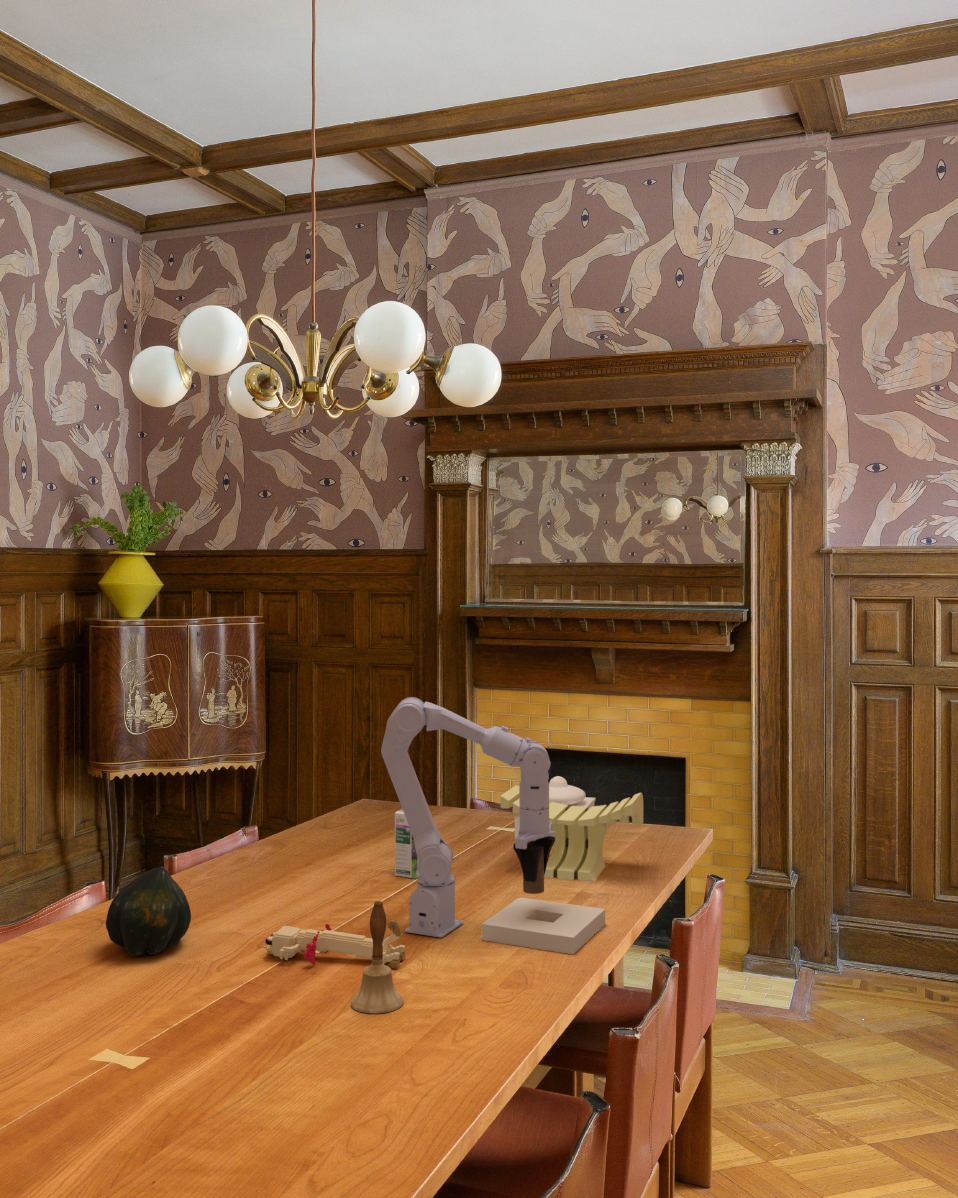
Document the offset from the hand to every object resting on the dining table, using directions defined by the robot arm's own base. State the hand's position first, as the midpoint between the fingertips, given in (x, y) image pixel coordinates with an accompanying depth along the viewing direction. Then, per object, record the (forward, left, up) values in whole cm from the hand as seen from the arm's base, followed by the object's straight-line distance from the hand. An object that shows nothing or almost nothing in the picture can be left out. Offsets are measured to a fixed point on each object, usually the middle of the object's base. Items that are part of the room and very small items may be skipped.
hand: (534, 878), depth 200 cm
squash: (-40, +59, -10) cm, 72 cm away
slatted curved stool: (+41, +7, -10) cm, 43 cm away
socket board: (-2, -3, -10) cm, 10 cm away
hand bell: (-44, +9, -10) cm, 46 cm away
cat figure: (-31, +26, -10) cm, 41 cm away
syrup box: (+22, +39, -10) cm, 46 cm away
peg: (0, 0, -3) cm, 3 cm away
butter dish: (+70, +23, -10) cm, 74 cm away
